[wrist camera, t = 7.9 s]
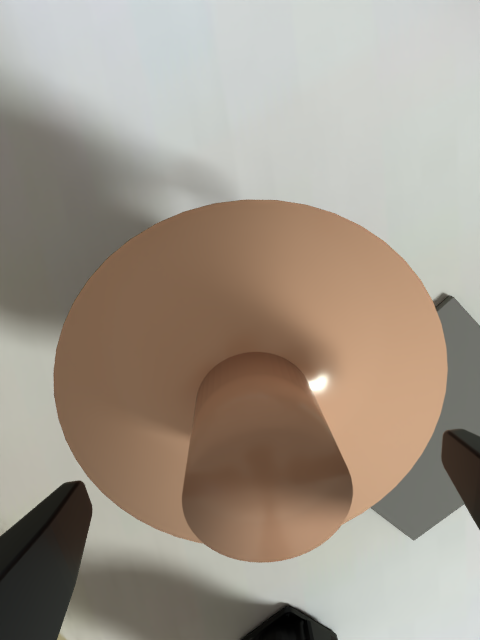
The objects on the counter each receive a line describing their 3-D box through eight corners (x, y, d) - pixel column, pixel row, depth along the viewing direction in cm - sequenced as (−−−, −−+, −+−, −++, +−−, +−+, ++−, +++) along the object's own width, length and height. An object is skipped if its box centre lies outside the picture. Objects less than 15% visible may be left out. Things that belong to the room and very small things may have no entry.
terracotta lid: (261, 577, 14) (275, 725, 10) (-11, 412, 11) (-145, 531, 7) (508, 377, 11) (661, 471, 7) (238, 92, 8) (250, -6, 4)
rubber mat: (411, 536, 27) (413, 540, 27) (287, 440, 24) (288, 444, 24) (565, 423, 24) (570, 426, 24) (449, 295, 21) (453, 297, 21)
